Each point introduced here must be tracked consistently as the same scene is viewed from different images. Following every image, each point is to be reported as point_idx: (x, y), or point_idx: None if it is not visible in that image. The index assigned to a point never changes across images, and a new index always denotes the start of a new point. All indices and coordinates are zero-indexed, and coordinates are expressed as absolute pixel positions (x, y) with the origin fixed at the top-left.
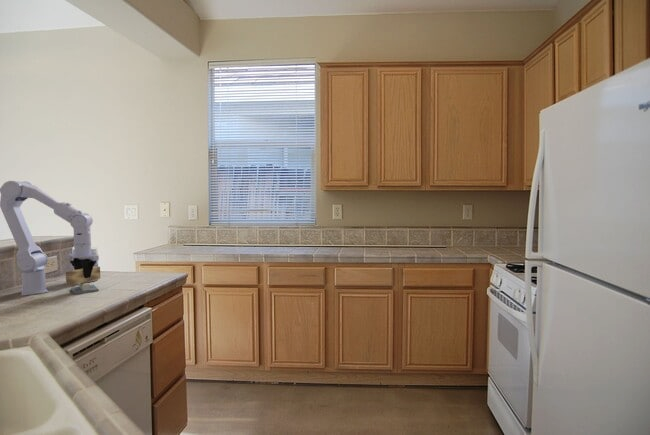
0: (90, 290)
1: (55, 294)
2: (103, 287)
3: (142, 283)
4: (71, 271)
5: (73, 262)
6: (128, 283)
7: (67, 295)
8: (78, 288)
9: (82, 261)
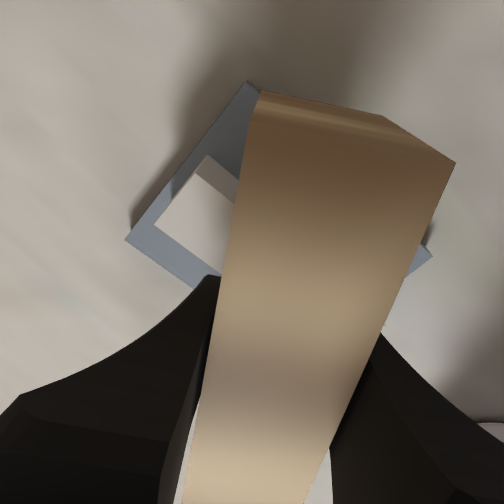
0: (160, 193)
1: (467, 51)
2: None
3: None
4: (342, 210)
5: (458, 479)
6: None
7: (294, 31)
8: None
9: (43, 456)
